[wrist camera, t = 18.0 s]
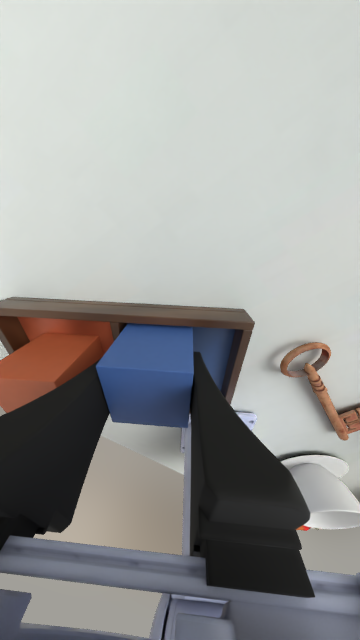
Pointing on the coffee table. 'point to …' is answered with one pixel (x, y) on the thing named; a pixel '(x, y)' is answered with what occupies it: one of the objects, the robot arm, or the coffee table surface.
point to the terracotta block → (45, 366)
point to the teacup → (325, 491)
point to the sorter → (111, 318)
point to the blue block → (149, 375)
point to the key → (322, 388)
